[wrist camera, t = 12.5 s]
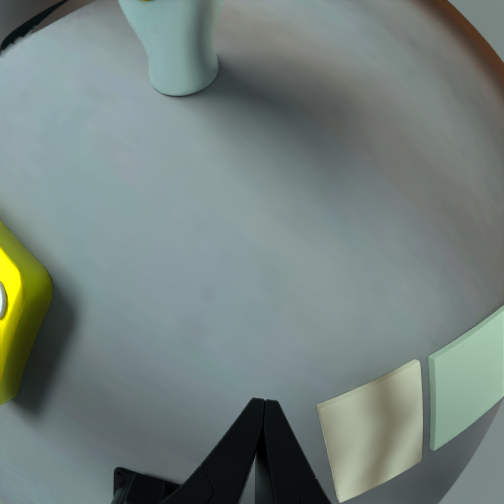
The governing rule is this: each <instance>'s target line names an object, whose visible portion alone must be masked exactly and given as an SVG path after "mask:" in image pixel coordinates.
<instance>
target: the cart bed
mask: <svg viewBox="0 0 504 504" xmlns="http://www.w3.org/2000/svg"><path fill="white" fill-rule="evenodd" d="M316 406H317V411H318V415H319V419H320V423H321V428H322V432H323V436H324V440H325V445H326V449H327V454H328V458H329V462H330V467H331V472H332V476H333V481H334V485H335V490H336V495H337V499H338V500H339V502H340V503H341V502H343V501H346V500H348V499H350V498H353V497H355V496H357V495H360V494H362V493H364V492H366V491H368V490H370V489H372V488H374V487H376V486H378V485H380V484H382V483H384V482H386V481H388V480H390V479H392V478H394V477H395V476H397V475H399V474H401V473H402V472H404V471H406V470H407V469H409V468H411V467H412V466H414V465H416V464H417V463H419V462H420V461H422V443H423V404H422V383H421V369H420V361H418V360H415V359H414V360H412V361H410V362H409V363H407V364H405V365H403V366H401V367H399V368H397V369H395V370H394V371H392V372H390V373H388V374H386V375H384V376H382V377H380V378H378V379H375V380H373V381H371V382H369V383H367V384H365V385H363V386H360V387H358V388H356V389H354V390H351V391H349V392H347V393H344V394H342V395H340V396H337V397H335V398H332V399H330V400H327V401H324V402H322V403H319V404H317V405H316Z"/></svg>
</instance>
